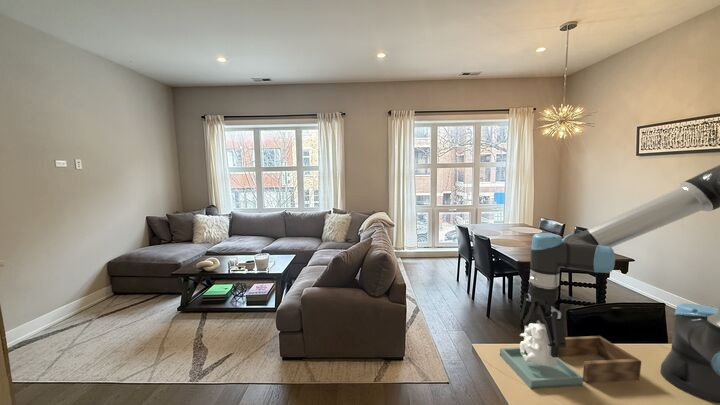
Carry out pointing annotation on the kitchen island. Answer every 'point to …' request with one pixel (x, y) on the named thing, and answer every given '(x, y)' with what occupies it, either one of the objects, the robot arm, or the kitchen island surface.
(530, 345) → the figurine
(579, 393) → the kitchen island surface
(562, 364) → the tray
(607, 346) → the wooden open box
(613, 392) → the kitchen island surface
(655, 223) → the robot arm
